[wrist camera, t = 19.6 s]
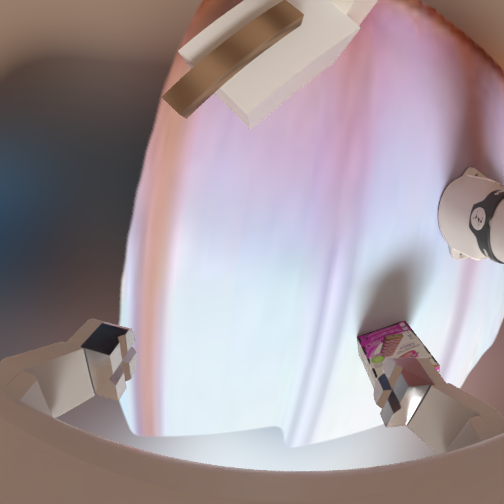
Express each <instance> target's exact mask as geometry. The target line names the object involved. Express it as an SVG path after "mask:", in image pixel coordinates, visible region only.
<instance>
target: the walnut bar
mask: <svg viewBox="0 0 504 504" xmlns="http://www.w3.org/2000/svg"><path fill="white" fill-rule="evenodd" d="M303 17H304V14H303V13H301V12H300V11H299V10H298V9H297V8H295V7H294V6H293V5H291V4H290V3H289V2H288V1H286V0H283V1H281V2H280V3H278V4H277V5H275V6H273V7H272V8H270V9H269V10H267V11H266V12H264V13H263V14H261V15H260V16H258V17H257V18H255V19H254V20H253V21H251V22H250V23H248V24H247V25H246V26H244V27H243V28H241V29H240V30H239V31H237V32H236V33H235V34H233V35H232V36H231V37H229V38H228V39H227V40H226V41H224V42H223V43H222V44H221V45H219V46H218V47H217V48H216V49H214V50H213V51H212V52H211V53H209V54H208V55H207V56H206V57H205V58H204V59H202V60H201V61H200V62H199V63H198V64H197V65H195V66H194V67H193V68H192V69H191V70H190V71H189V72H188V73H187V74H185V75H184V76H183V77H182V78H181V79H180V80H179V81H178V82H177V83H176V84H175V85H174V86H173V87H172V88H171V89H169V90H168V91H167V92H166V93H165V94H164V95H163V96H162V98H163V99H164V100H165V101H166V102H167V103H168V104H169V105H170V106H171V107H172V108H173V109H175V110H176V111H177V112H178V113H179V114H180V115H181V116H183V117H185V118H186V119H187V118H188V117H189V116H190V115H191V114H192V113H193V112H194V111H195V110H196V109H197V108H198V107H199V106H200V105H201V104H202V103H204V102H205V101H206V100H207V99H208V98H209V97H210V96H211V95H212V94H213V93H215V92H216V91H217V90H218V89H219V88H220V87H221V86H223V85H224V84H225V83H226V82H227V81H228V80H229V79H231V78H232V77H233V76H234V75H235V74H237V73H238V72H239V71H240V70H241V69H243V68H244V67H245V66H246V65H248V64H249V63H250V62H251V61H253V60H254V59H255V58H257V57H258V56H259V55H260V54H262V53H263V52H264V51H266V50H267V49H268V48H270V47H271V46H272V45H274V44H275V43H276V42H278V41H279V40H281V39H282V38H283V37H285V36H286V35H288V34H289V33H291V32H292V31H293V30H295V29H296V28H298V27H299V26H301V24H302V20H303Z"/></svg>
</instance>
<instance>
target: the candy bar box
mask: <svg viewBox="0 0 504 504" xmlns="http://www.w3.org/2000/svg"><path fill="white" fill-rule="evenodd" d="M357 341H358V350H359V356H360V358H361V360H362V362H363V364H364V367H365V369H366V371H367V374H368V376H369V378H370V381H371V383H372V385H373V388H374V386H375V384H376V381H377V379H378V378H379V377H380V376H381V375H382V374H384V372H383V369H382V367H383V365H384V363H385V361H386V360H387V359H388V358H413V357H426V358H428V359H429V360H430V362H431V363H432V364H433V366H434V367H435V368H436V370H437V371H438V372H439V370H440V365H439V364H438V363H437V361H436V360H435V359H434V357H433V356H432V355H431V353H430V352H429V351H428V349H427V348H426V347H425V346H424V344H423V343H422V342H421V340H420V339H419V338H418V337H417V335H416V334H415V333H414V331H413V330H412V329H411V328H410V326H409V325H408V324H407V323H406V321H402V322H400V323H397V324H394V325H392V326H389V327H386V328H383V329H380V330H377V331H374V332H371V333H368V334H365V335H362V336H359V337H357Z"/></svg>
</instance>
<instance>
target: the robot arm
mask: <svg viewBox="0 0 504 504" xmlns="http://www.w3.org/2000/svg"><path fill="white" fill-rule="evenodd" d="M475 174H476V176H475ZM438 221H439V227H440V231H441V234H442V236H443V238H444V239H445V241H446V242H447V244H448V245H449V249H450V254H451V257H452V258H453V259H456V260H459V259H469V258H472V259H474V260H477V261H479V260H480V259H487V258H489V259H491V260H492V261H495V262H498V263H502V264H504V185H501V183H499V182H497V181H494V180H491V179H488V178H487V177H486V176H484V175H483V174H482V173H481V172H479V171H478V170H476V169H475V168H473V167H469V168H468V169H467V170H466V171H465V172H464V174H463V175H462V176H461V177H459V178H457V179H455V180H454V181H452V182H451V183H450V184H449V185H448V187H447V188H446V189H445V191H444V193H443V195H442V198H441V201H440V204H439V211H438ZM460 253H461V254H460ZM134 342H135V335H134V331H133V330H132V329H130V328H126V327H122V326H118V325H114V324H111V323H107V322H103V321H99V320H95V319H89V320H88V321H87V322H86V323H85V324H84V325H83V326H82V327H81V328H80V329H79V330H78V331H77V332H76V333H75V334H74V335H73V336H72V337H71V338H70V339H69V340H68V341H67V342H66V343H65V342H59V343H56V344H52V345H49V346H45V347H42V348H39V349H36V350H32V351H29V352H25V353H22V354H18V355H15V356H11V357H8V358H4V359H3V360H2V361H1V362H0V504H504V418H503V417H502V416H501V414H500V413H499V412H498V410H497V409H495V408H493V407H491V406H490V405H488V404H486V403H484V402H482V401H481V400H479V399H477V398H475V397H473V396H472V395H470V394H468V393H466V392H464V391H463V390H461V389H459V388H457V387H455V386H454V385H452V384H450V383H447V384H446V382H445V381H444V380H443V378H442V377H441V375H440V374H439V373H438V371H437V370H436V368H435V367H434V366H433V364H432V363H431V362H430V360H429V359H428V358H426V357H413V358H388V359H387V360H386V361H385V363H384V365H383V367H382V369H383V372H384V374H382V375H381V376H380V377H379V378H378V379H377V381H376V384H375V386H374V400H375V402H376V404H377V405H378V406H379V407H381V408H382V410H381V413H380V415H381V417H382V420H383V422H384V424H385V427H397V426H407V427H408V428H409V429H410V430H411V431H412V432H413V433H414V434H416V435H417V436H418V437H419V438H420V439H421V440H422V441H423V442H424V443H426V444H427V445H428V446H429V447H430V448H431V449H432V450H433V451H435V452H436V453H437V454H438V455H434V456H430V457H426V458H421V459H417V460H411V461H406V462H401V463H395V464H389V465H383V466H376V467H368V468H358V469H348V470H334V471H267V470H253V469H242V468H233V467H224V466H217V465H210V464H204V463H198V462H192V461H187V460H182V459H177V458H173V457H168V456H164V455H160V454H155V453H152V452H148V451H144V450H140V449H137V448H133V447H130V446H127V445H123V444H120V443H117V442H114V441H111V440H108V439H105V438H102V437H100V436H97V435H94V434H91V433H89V432H86V431H84V430H81V429H79V428H76V427H74V426H71V425H69V424H67V423H64V422H62V421H60V420H58V419H56V417H58V416H60V415H62V414H64V413H65V412H67V411H69V410H70V409H72V408H74V407H75V406H78V405H79V404H81V403H83V402H85V401H86V400H88V399H89V398H91V397H93V396H94V395H95V394H96V395H99V396H102V397H106V398H109V399H113V400H116V401H119V400H120V398H121V396H122V394H123V393H124V391H125V389H126V383H125V381H128V380H130V379H131V378H132V376H133V374H134V372H135V368H136V363H137V355H136V351H135V350H134V348H133V347H132V345H133V343H134Z"/></svg>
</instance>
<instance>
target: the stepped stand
mask: <svg viewBox="0 0 504 504" xmlns="http://www.w3.org/2000/svg"><path fill="white" fill-rule="evenodd" d="M281 1H283V0H244V1H242V2H241V3H239V4H238V5H236V6H235V7H234V8H232V9H231V10H229V11H228V12H226V13H225V14H224V15H222V16H221V17H220V18H218V19H217V20H216V21H214V22H213V23H212V24H210V25H209V26H208V27H206V28H205V29H204V30H203V31H201V32H200V33H199V34H198V35H196V36H195V37H194V38H193V39H192V40H190V41H189V42H188V43H187V44H186V45H184V46H183V47H182V48H181V49H180V50H179V51H178V52H179V53H180V55H181V56H182V57H183V58H184V60H185V61H186V62H187V64H188V65H189V66H190V67H191V69H192V68H193V67H194V66H195V65H197V64H198V63H199V62H200V61H201V60H202V59H204V58H205V57H206V56H207V55H208V54H209V53H211V52H212V51H213V50H214V49H216V48H217V47H218V46H219V45H221V44H222V43H223V42H224V41H226V40H227V39H228V38H229V37H231V36H232V35H233V34H235V33H236V32H237V31H239V30H240V29H241V28H243V27H244V26H246V25H247V24H248V23H250V22H251V21H253V20H254V19H255V18H257V17H258V16H260V15H261V14H263V13H264V12H266V11H267V10H269V9H270V8H272V7H273V6H275V5H277V4H278V3H280V2H281ZM286 1H288V2H289V3H290V4H291V5H293V6H294V7H295V8H297V9H298V10H299V11H300V12H301V13H303V14H304V17H303V20H302V24H301V26H299V27H298V28H296V29H295V30H293V31H292V32H291V33H289V34H288V35H286V36H285V37H283V38H282V39H281V40H279V41H278V42H276V43H275V44H274V45H272V46H271V47H270V48H268V49H267V50H266V51H264V52H263V53H262V54H260V55H259V56H258V57H257V58H255V59H254V60H253V61H251V62H250V63H249V64H248V65H246V66H245V67H244V68H243V69H241V70H240V71H239V72H238V73H237V74H235V75H234V76H233V77H232V78H231V79H229V80H228V81H227V82H226V83H225V84H224V85H223V86H221V87H220V88H219V89H218V90H217V91H216V92H215V93H214V94H215V95H216V96H217V97H218V98H219V99H220V100H221V101H222V102H223V103H224V104H225V105H226V106H227V107H228V108H229V109H230V110H231V111H232V112H233V113H234V114H235V115H237V116H238V117H239V118H240V119H241V120H242V121H243V122H244V123H245V124H246V126H247V127H248V128H249V129H250V130H252V129H253V128H254V127H256V126H257V125H258V124H259V123H260V122H261V121H262V120H264V119H265V118H266V117H267V116H268V115H269V114H271V113H272V112H273V111H274V110H275V109H277V108H278V107H279V106H280V105H281V104H283V103H284V102H285V101H286V100H287V99H289V98H290V97H291V96H292V95H293V94H295V93H296V92H297V91H298V90H300V89H301V88H302V87H303V86H305V85H306V84H307V83H309V82H310V81H311V80H312V79H314V78H315V77H316V76H318V75H319V74H320V73H322V72H323V71H324V70H325V69H327V68H328V67H329V66H331V65H332V64H334V63H335V61H336V60H337V59H338V57H339V56H340V55H341V53H342V52H343V51H344V49H345V48H346V46H347V45H348V44H349V43H350V41H351V40H352V39H353V37H354V36H355V35H356V33H357V32H358V31H359V29H360V27H359V25H360V24H361V22H362V21H363V20H364V18H365V17H366V16H367V14H368V13H369V12H370V10H371V9H372V8H373V6H374V5H375V4H376V2H377V1H378V0H286Z"/></svg>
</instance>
